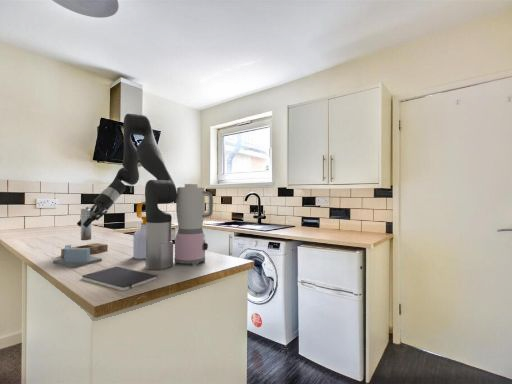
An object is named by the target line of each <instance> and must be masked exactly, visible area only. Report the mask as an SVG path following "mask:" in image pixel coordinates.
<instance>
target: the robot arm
mask: <svg viewBox="0 0 512 384" xmlns="http://www.w3.org/2000/svg"><path fill="white" fill-rule="evenodd" d="M132 135H134V136H136V135H137V136H144V137H143V139H142V140H141V141H140V142H139V144H138V145H137V147H136V146H135V144H134V142H133V140H132ZM155 138H156V137H155V135H154V130H153V127H152V122H151V120H150V118H149V117H148V116H147V115H143V114H135V113H126V114H125V115H124V118H123V158H122V163H121V164H122V167H121V168H120V169H119V170H118V171H117V172H116V175H115V177H114V179H113V181H112V182H111V183H110V184H109V185H108V186H107V187H106V188H105V189H103V190H102V191H101V193H99V194H98V196H96V197H95V198H94V199H93V205H91V206H90V207H88V206H87V207H85V209H91V216H90V217H89V218H88V219H87V220H86V221H85V222H84V223H83V225H84V226H85V227H88V226H89V225H90V224H91V225H92V222H94V221H99V220H100V219H101V218H102V217H103V216H104V215H106V214H107V213H108V210H110V208H111V207H112V206H113V205H114V204H115V203H116V201H118V199H119V198H120V197H121V195H122V194H123V193H124V192H125V191H126V189H127V188H126V185H125V184H124V183H126V184H129V186H130V185H131V186H134V185H136V184H137V183H138V182H139V179H140V172H139V166H138V165H141V166H142V168H143V169H144V170H146V171H147V172H148V173H150V174H151V175H152V176H153V177H154V178H156V179H149V180H147V181H146V183H145V187H144V200H145V201H144V202H145V204H144V205H145V216H146V259H145V268H146V269H148V270H161V271H162V270H164V269H167V268H170V267H171V268H172V267H173V266H174V241H173V240H172V214H171V213H170V212H169V213H168V212H165V211H162V210H161V209H160V208H159V205H165V204H166V205H167V204H173V203H174V202H175V201H176V198H177V187H176V184H175V182H174V179H173V178H172V176H171V174H170V172H169V170H168V169H167V166H166V165H165V161H164V159H163V155H162V153H161V149H160V148H159V145H158V143H157V141H156V139H155ZM123 182H124V183H123ZM76 225H77V226H78V227H80V228H81V219H79V220H78V222H76Z"/></svg>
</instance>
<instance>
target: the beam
mask: <svg viewBox="0 0 512 384" xmlns="http://www.w3.org/2000/svg"><path fill="white" fill-rule="evenodd" d="M108 247H109V246H108V244H105V243H99V242H95V243H89V244H82V245H78V246H71V248H90V255H94V254H98V253H103V252H108V251H109V250H108ZM60 256H61V257H64V248H61V251H60Z"/></svg>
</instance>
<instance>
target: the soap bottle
mask: <svg viewBox="0 0 512 384" xmlns="http://www.w3.org/2000/svg"><path fill="white" fill-rule="evenodd" d="M143 205H145V201H143V202H140V203H137V205H136V217H137V218H141V220H142V222H141V223H140V228H139V229H137V230H136V231H135V232H134V233H133V241H132V242H133V246H132V248H133V251H132V253H133V254H132V255H133V258H134V259H138V260H146V215H143V213H142V211H143V210H142V207H143Z"/></svg>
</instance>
